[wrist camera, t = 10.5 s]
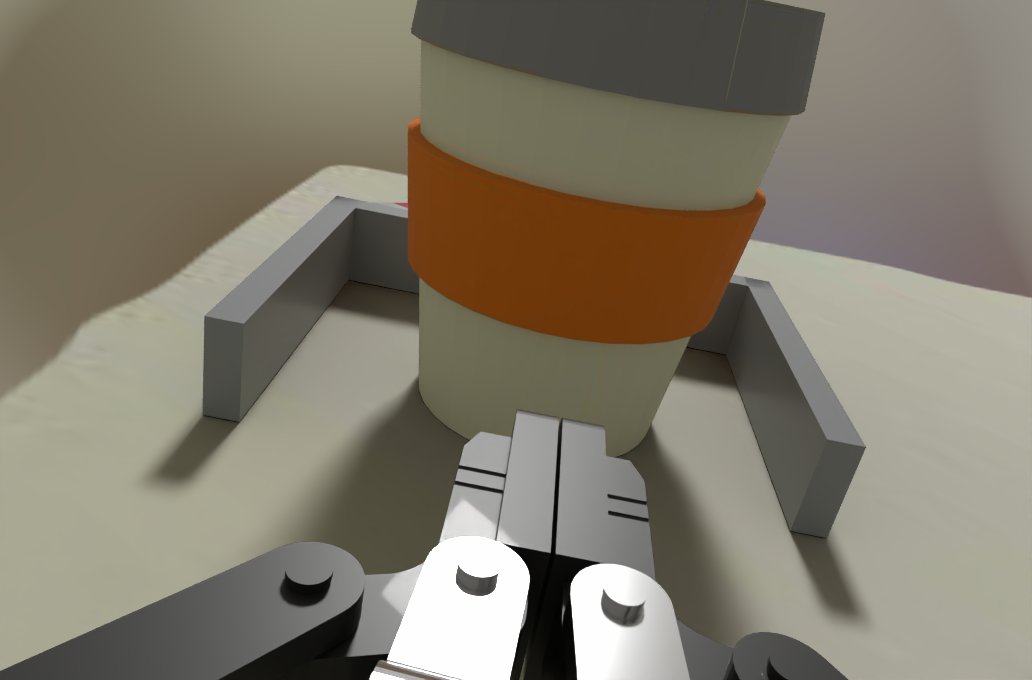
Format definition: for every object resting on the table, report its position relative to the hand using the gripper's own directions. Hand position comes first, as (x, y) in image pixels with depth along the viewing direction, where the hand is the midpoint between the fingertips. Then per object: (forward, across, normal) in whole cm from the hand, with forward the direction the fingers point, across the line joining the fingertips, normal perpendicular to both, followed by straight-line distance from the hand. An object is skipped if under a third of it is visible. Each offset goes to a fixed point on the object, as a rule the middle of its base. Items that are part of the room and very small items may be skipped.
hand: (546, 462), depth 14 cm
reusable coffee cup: (+16, 0, +8) cm, 18 cm away
